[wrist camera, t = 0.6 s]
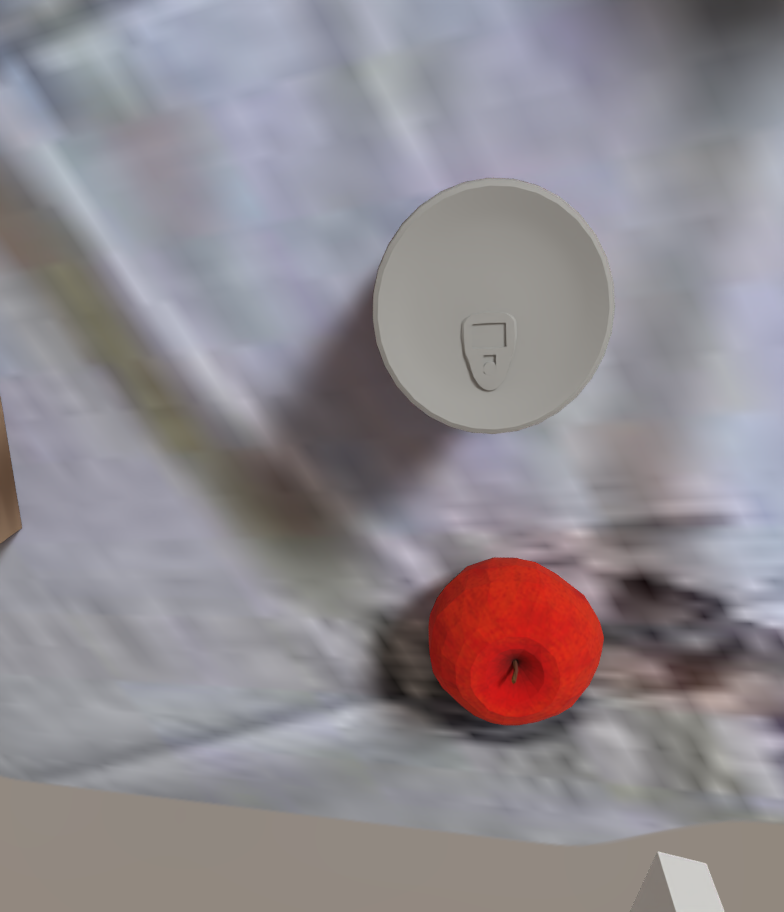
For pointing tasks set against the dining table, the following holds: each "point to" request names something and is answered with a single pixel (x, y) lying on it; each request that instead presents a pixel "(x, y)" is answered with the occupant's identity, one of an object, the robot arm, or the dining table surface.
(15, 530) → the cleat board
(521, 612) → the apple
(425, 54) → the dining table surface
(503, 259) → the canned food
